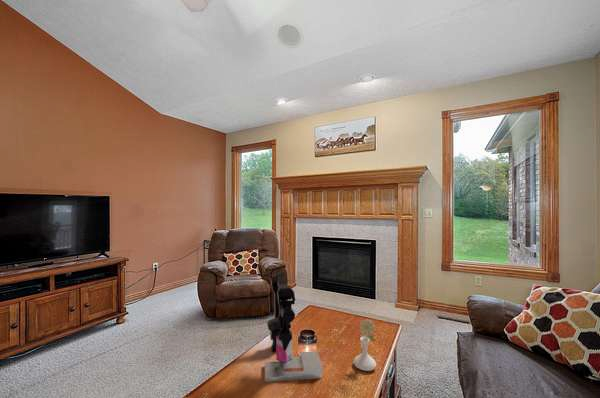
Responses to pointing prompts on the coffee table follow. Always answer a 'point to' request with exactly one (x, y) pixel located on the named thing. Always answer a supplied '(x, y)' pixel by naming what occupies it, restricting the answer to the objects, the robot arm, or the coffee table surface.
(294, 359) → the step stand
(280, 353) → the supplement box
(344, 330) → the coffee table surface
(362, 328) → the flower in vase
